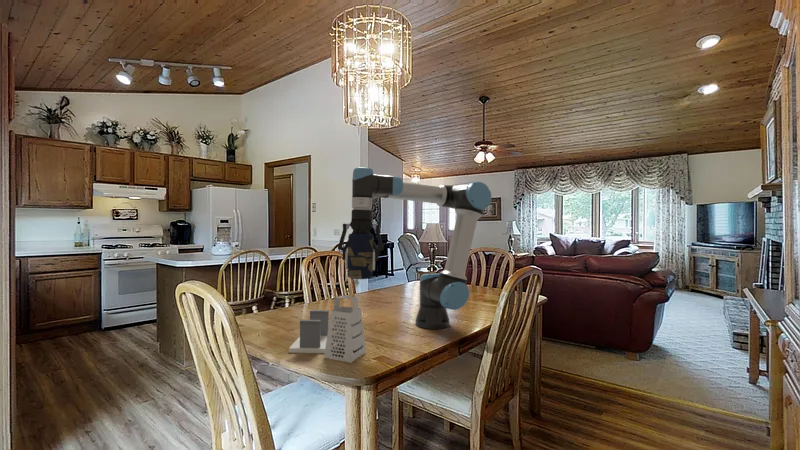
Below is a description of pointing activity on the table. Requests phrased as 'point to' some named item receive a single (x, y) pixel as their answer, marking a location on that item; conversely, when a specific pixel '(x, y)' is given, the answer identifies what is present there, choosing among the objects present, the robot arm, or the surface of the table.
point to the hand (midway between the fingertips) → (360, 269)
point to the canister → (360, 256)
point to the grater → (345, 332)
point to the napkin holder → (312, 333)
